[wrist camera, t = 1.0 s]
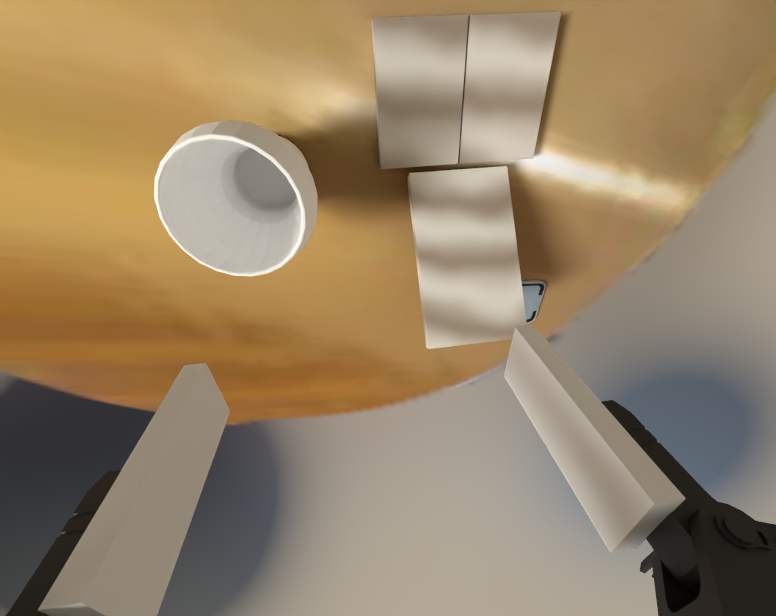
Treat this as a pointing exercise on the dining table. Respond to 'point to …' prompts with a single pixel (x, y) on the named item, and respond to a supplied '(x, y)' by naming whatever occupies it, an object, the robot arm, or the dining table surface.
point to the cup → (236, 197)
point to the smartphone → (532, 297)
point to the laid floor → (460, 86)
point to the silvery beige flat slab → (466, 255)
